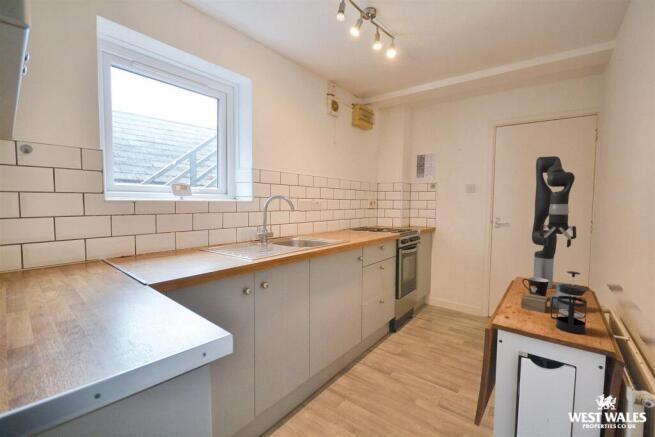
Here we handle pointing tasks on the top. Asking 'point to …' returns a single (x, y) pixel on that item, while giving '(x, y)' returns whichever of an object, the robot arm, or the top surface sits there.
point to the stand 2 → (560, 305)
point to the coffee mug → (537, 286)
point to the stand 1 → (534, 302)
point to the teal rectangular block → (559, 290)
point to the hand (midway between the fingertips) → (556, 246)
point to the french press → (571, 308)
